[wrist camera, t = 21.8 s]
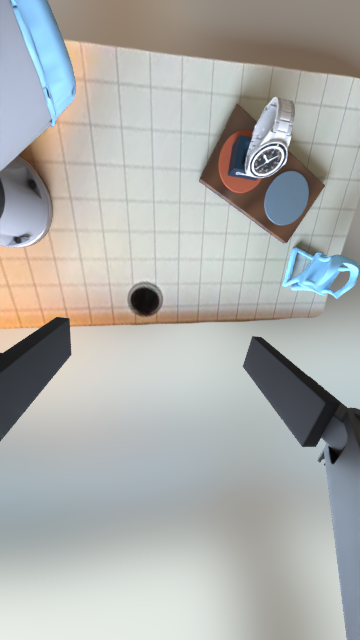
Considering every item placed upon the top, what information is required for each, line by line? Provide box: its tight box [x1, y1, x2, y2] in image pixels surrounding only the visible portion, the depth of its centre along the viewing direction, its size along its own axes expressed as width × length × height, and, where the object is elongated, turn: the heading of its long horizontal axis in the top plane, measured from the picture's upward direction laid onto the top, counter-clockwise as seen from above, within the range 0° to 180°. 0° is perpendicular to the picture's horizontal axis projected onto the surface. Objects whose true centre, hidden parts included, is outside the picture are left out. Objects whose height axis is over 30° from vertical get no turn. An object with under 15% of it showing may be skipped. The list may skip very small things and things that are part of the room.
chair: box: [282, 248, 360, 298], centre depth 37 cm, size 8×8×12 cm
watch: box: [228, 97, 295, 181], centre depth 28 cm, size 6×8×11 cm
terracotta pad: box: [219, 130, 262, 193], centre depth 33 cm, size 9×9×1 cm
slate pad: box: [264, 171, 309, 225], centre depth 36 cm, size 9×9×1 cm
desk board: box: [199, 104, 325, 243], centre depth 35 cm, size 22×12×1 cm, turn 61°
